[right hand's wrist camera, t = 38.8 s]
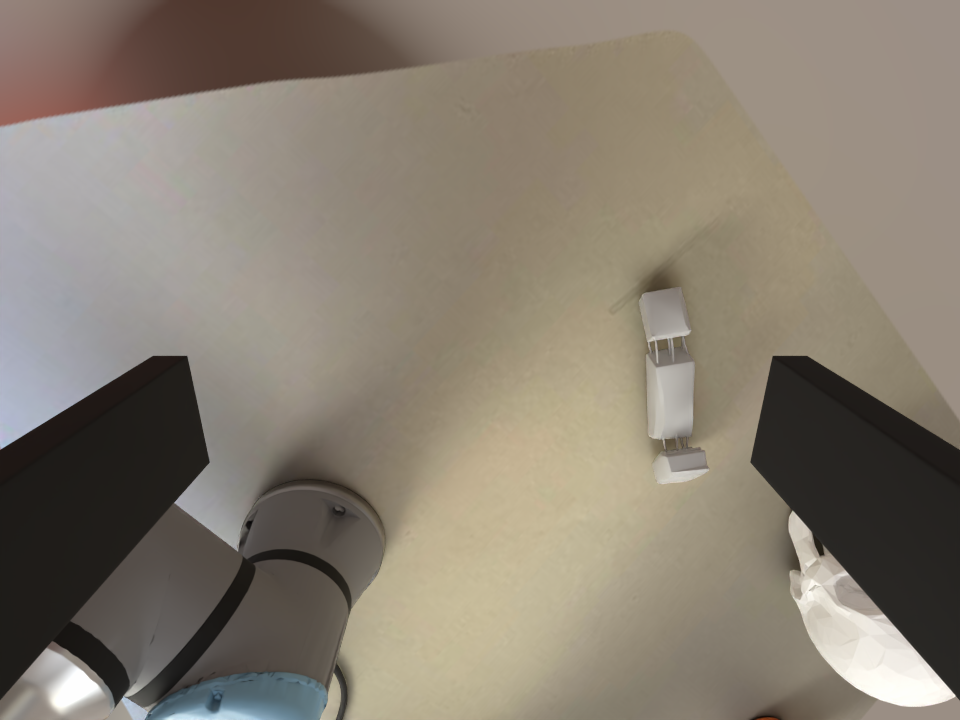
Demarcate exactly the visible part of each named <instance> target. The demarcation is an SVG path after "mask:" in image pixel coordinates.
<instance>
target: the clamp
mask: <svg viewBox="0 0 960 720" xmlns="http://www.w3.org/2000/svg"><path fill="white" fill-rule="evenodd" d="M639 307H640V311H641V316H642V320H643V325H644V330H645V334H646V339H647V342H648V347H649V351H650V352H648V353H647V354H646V376H647V415H648V435H649V436H650V437H651V438H653V439H659V440H661V439H663V445H664V449H665V451H662V452H660V453H659V454H658V456H657V457H656V458H655V459H654V461H653V463H652V466H653V470H654V474H655V478H656V481H657V482H658V483H659V484H665V483H675V482H684V481H690V480H692V479H694V478H696V477H698V476H701V475H703V474H705V473H707V471H708V470H709V467H708V466H707V463H706V455H705V451H704V450H701V448H700V447H698V448H692V447H688V437H692V426H693V395H694V374H695V362H694V359H693V358H692V357H691V355H690V354H689V352H688V350H687V347H686V344H685V337H684V336H685V335H688V334H689V333H690V332H691V327H690V321H689V316H688V312H687V308H686V303H685V300H684V296H683V293H682V289H681V287H674V288H668V289H663V290H657V291H651V292H645V293H644V294H642V296H641V298H640V300H639ZM679 336H681V338H682V346H681V347H675V348H674V346H673V337H679ZM667 338H668V346H669V349H663V350H658V346H657V340H661V339H667ZM670 340H671V344H670ZM651 341H655V348H656V351H652V350H651V346H650V342H651ZM684 347H685V348H684ZM682 437H686V448H684V445H683V440H682ZM671 438H676V449H674V450H668V451H667V449H666V444H665V439H671ZM678 438H680V440H681V445H682V448H681V449H678Z"/></svg>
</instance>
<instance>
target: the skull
mask: <svg viewBox="0 0 960 720" xmlns="http://www.w3.org/2000/svg"><path fill="white" fill-rule="evenodd" d="M788 528H789V533H790V536H791V538H792V541H793V544H794V546H795V549H796V553H797V556H798V558H799V562H800V567H801V571H797V570H791V571H790V574H789V576H790V580H791V587H790V593H791V595H792V597H793V598H794V599H795V601H796V603H797V605H798V607H799V609H800V611H801V614H802V618H803V621H804V624H805V627H806V629H807V631H808V634H809V636H810V638H811V640H812V641H813V643H814V645H815V646H816V648H817V649H818V651H819V652H820V654H821V655H822V656H823V658H824V659H825V660H826V661H827V662H828V663H829V664H830V665H831V666H832V668H833V669H834V670H835V671H836V672H837V673H838V674H839V675H840V676H842V677H843V678H844V679H845V680H846V681H848V682H849V683H850V684H852V685H853V686H854V687H856V688H857V689H859V690H861V691H863V692H864V693H866V694H868V695H870V696H872V697H875V698H877V699H880V700H882V701H886V702H889V703H893V704H896V705H900V706H909V707H923V706H928V705H933V704H938V703H941V702H944V701H947V700H949V699H951V698H953V697H955V694H954V693H953V692H952V691H951V690H950V689H949V688H948V686H947V685H946V684H945V683H944V682H943V681H942V680H941V678H940V677H939V676H938V675H937V674H936V673H935V672H934V670H933V669H932V668H931V667H930V666H929V665H928V664H927V663H926V661H925V660H924V659H923V658H922V657H921V656H920V655H919V653H918V652H917V651H916V650H915V649H914V648H913V647H912V645H911V644H910V643H909V642H908V641H907V640H906V639H905V638H904V636H903V635H902V634H901V633H900V632H899V631H898V630H897V628H896V627H895V626H894V625H893V624H892V623H891V622H890V620H889V619H888V618H887V617H886V616H885V615H884V614H883V613H882V611H881V610H880V609H879V608H878V607H877V606H876V605H875V603H874V602H873V601H872V600H871V599H870V598H869V597H868V595H867V594H866V593H865V592H864V591H863V590H862V589H861V587H860V586H859V585H858V584H857V583H856V582H855V581H854V580H853V578H852V577H851V576H850V575H849V574H848V573H847V572H846V570H845V569H844V568H843V567H842V566H841V565H840V564H839V562H838V561H837V560H836V559H835V558H834V557H833V556H832V555H831V553H830V552H829V551H828V550H827V549H826V548H825V547H824V545H823V544H822V545H823V549H824V555H825V556H823V555H821V556H820V555H819V553H818V551H817V549H816V547H815V544H814V539H813V533H812V532H811V531H810V530H809V528H808V527H807V526H806V525H805V524H804V523H803V522H802V520H801V519H800V518H799V517H798V516H797V515H796V514H795V512H794V511H792V512H791V514H790V516H789V522H788Z"/></svg>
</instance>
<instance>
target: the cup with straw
mask: <svg viewBox="0 0 960 720" xmlns="http://www.w3.org/2000/svg"><path fill="white" fill-rule="evenodd" d="M756 720H779V719H776V718H771V717H764V718H759V719H756Z"/></svg>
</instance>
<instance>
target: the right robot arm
mask: <svg viewBox="0 0 960 720" xmlns="http://www.w3.org/2000/svg"><path fill="white" fill-rule="evenodd" d="M208 464H209V457H208V452H207V448H206V443H205V438H204V433H203V429H202V424H201V419H200V414H199V410H198V405H197V400H196V395H195V391H194V386H193V381H192V376H191V372H190V367H189V362H188V357H187V356H152V357H151V358H149V359H147V360H146V361H144V362H142V363H141V364H139V365H138V366H136V367H134V368H133V369H131V370H129V371H128V372H126V373H125V374H123V375H121V376H120V377H118V378H116V379H115V380H113V381H112V382H110V383H108V384H107V385H105V386H103V387H102V388H100V389H99V390H97V391H95V392H94V393H92V394H90V395H89V396H87V397H86V398H84V399H82V400H81V401H79V402H77V403H76V404H74V405H73V406H71V407H69V408H68V409H66V410H64V411H63V412H61V413H60V414H58V415H56V416H55V417H53V418H51V419H50V420H48V421H47V422H45V423H43V424H42V425H40V426H38V427H37V428H35V429H33V430H32V431H30V432H29V433H27V434H25V435H24V436H22V437H20V438H19V439H17V440H16V441H14V442H12V443H11V444H9V445H7V446H6V447H4V448H3V449H1V450H0V720H105V719H106V718H107V717H108V716H109V715H110V714H111V712H112V711H113V710H114V708H115V707H116V705H117V704H118V703H119V701H120V700H121V699H122V697H123V696H124V697H126V698H128V699H129V700H131V701H133V702H134V703H136V704H137V705H139V706H141V707H142V708H143V709H145V710H146V711H148V712H149V713H148V715H147V717H146V718H145V720H320V717H321V715H322V712H323V711H324V709H325V707H326V704H327V701H328V691H329V687H330V683H331V680H332V676H333V672H334V673H335V675H336V677H337V679H338V681H339V684H340V688H341V704H340V708H339V712H338V715H337V718H336V720H342V719H343V715H344V712H345V709H346V704H347V686H346V682H345V678H344V676H343V674H342V672H341V670H340V668H339V666H338V665H337V663H336V661H337V658H338V654H339V651H340V647H341V643H342V640H343V636H344V632H345V629H346V625H347V621H348V617H349V614H350V611H351V608H352V607H353V606H354V604H355V603H356V601H357V600H358V599H359V597H360V596H361V594H362V593H363V591H364V590H366V589H367V587H368V586H369V585H370V584H371V582H372V581H373V580H374V578H375V577H376V575H377V574H378V572H379V569H380V566H381V563H382V559H383V555H384V550H385V534H384V529H383V526H382V524H381V521H380V519H379V517H378V516H377V514H376V513H375V511H374V510H373V509H372V508H371V506H370V505H369V504H368V503H367V502H366V501H365V500H363V499H362V498H361V497H360V496H358V495H357V494H355V493H354V492H352V491H350V490H348V489H346V488H344V487H342V486H339V485H337V484H333V483H330V482H325V481H319V480H298V481H292V482H287V483H284V484H281V485H279V486H277V487H274V488H273V489H271V490H269V491H268V492H266V493H265V494H264V495H263V496H262V497H260V498H259V500H258V501H257V502H256V503H255V505H254V506H253V508H252V509H251V511H250V512H249V514H248V515H247V517H246V519H245V521H244V523H243V526H242V529H241V533H240V537H239V541H238V545H239V548H238V545H237V549H238V552H237V550H235V549H234V548H232V547H231V546H230V545H228V544H227V543H226V542H224V541H223V540H222V539H220V538H219V537H218V536H217V535H215V534H214V533H213V532H211V531H210V530H209V529H207V528H206V527H205V526H203V525H202V524H201V523H199V522H198V521H197V520H196V519H194V518H193V517H192V516H190V515H189V514H188V513H186V512H185V511H184V510H182V509H181V508H180V507H179V506H177V505H176V504H175V503H174V502H175V501H176V500H177V499H178V498H179V497H180V495H181V494H182V493H183V492H184V491H185V490H186V489H187V487H188V486H189V485H190V484H191V483H192V482H193V481H194V479H195V478H196V477H197V476H198V475H199V474H200V473H201V472H202V470H203V469H204V468H205V467H206V466H207V465H208ZM751 464H752V465H753V466H754V467H755V468H756V469H757V470H758V472H759V473H760V474H761V475H762V476H763V477H764V478H765V479H766V481H767V482H768V483H769V484H770V485H771V486H772V487H773V489H774V490H775V491H776V492H777V493H778V494H779V495H780V497H781V498H782V499H783V500H784V501H785V502H786V503H787V504H788V506H789V507H790V508H791V509H792V510H793V511H794V512H795V514H796V515H797V516H798V517H799V518H800V519H801V520H802V522H803V523H804V524H805V525H806V526H807V527H808V528H809V530H810V531H811V532H812V533H813V534H814V535H815V536H816V537H817V539H818V540H819V541H820V542H821V543H822V544H823V545H824V547H825V548H826V549H827V550H828V551H829V552H830V553H831V555H832V556H833V557H834V558H835V559H836V560H837V561H838V562H839V564H840V565H841V566H842V567H843V568H844V569H845V570H846V572H847V573H848V574H849V575H850V576H851V577H852V578H853V580H854V581H855V582H856V583H857V584H858V585H859V586H860V587H861V589H862V590H863V591H864V592H865V593H866V594H867V595H868V597H869V598H870V599H871V600H872V601H873V602H874V603H875V605H876V606H877V607H878V608H879V609H880V610H881V611H882V613H883V614H884V615H885V616H886V617H887V618H888V619H889V620H890V622H891V623H892V624H893V625H894V626H895V627H896V628H897V630H898V631H899V632H900V633H901V634H902V635H903V636H904V638H905V639H906V640H907V641H908V642H909V643H910V644H911V645H912V647H913V648H914V649H915V650H916V651H917V652H918V653H919V655H920V656H921V657H922V658H923V659H924V660H925V661H926V663H927V664H928V665H929V666H930V667H931V668H932V669H933V670H934V672H935V673H936V674H937V675H938V676H939V677H940V678H941V680H942V681H943V682H944V683H945V684H946V685H947V686H948V688H949V689H950V690H951V691H952V692H953V693H954V694H955V696H956V697H957V698H958V699H959V700H960V450H959V449H957V448H956V447H954V446H953V445H951V444H949V443H948V442H946V441H944V440H943V439H941V438H940V437H938V436H936V435H935V434H933V433H931V432H930V431H928V430H927V429H925V428H923V427H922V426H920V425H918V424H917V423H915V422H913V421H912V420H910V419H909V418H907V417H905V416H904V415H902V414H900V413H899V412H897V411H896V410H894V409H892V408H891V407H889V406H887V405H886V404H884V403H883V402H881V401H879V400H878V399H876V398H874V397H873V396H871V395H870V394H868V393H866V392H865V391H863V390H861V389H860V388H858V387H857V386H855V385H853V384H852V383H850V382H848V381H847V380H845V379H844V378H842V377H840V376H839V375H837V374H835V373H834V372H832V371H831V370H829V369H827V368H826V367H824V366H822V365H821V364H819V363H818V362H816V361H814V360H813V359H811V358H809V357H808V356H773V357H772V362H771V367H770V372H769V376H768V381H767V386H766V391H765V395H764V400H763V405H762V410H761V414H760V419H759V424H758V429H757V433H756V438H755V443H754V448H753V452H752V457H751Z"/></svg>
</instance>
